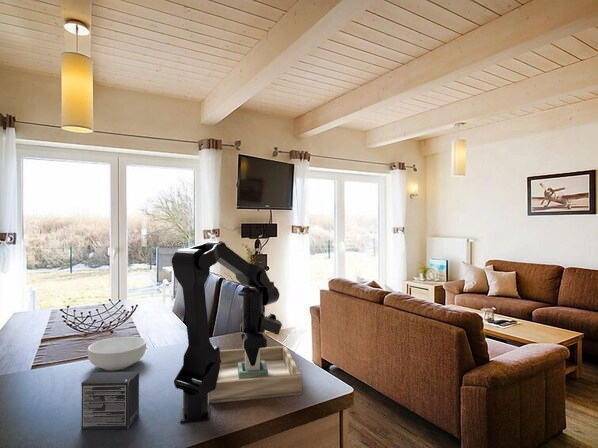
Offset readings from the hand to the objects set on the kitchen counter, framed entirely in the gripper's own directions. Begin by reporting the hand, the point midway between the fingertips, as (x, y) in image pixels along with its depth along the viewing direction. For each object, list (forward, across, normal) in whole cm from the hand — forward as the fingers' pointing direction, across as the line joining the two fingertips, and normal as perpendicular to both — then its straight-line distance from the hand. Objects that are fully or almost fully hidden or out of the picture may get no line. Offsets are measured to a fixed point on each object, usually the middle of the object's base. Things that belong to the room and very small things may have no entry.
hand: (252, 362), depth 106 cm
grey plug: (+2, 0, 0) cm, 2 cm away
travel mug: (+5, +27, -3) cm, 28 cm away
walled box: (+5, 0, 0) cm, 5 cm away
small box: (+5, -16, +34) cm, 38 cm away
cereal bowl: (+5, +19, +41) cm, 45 cm away
